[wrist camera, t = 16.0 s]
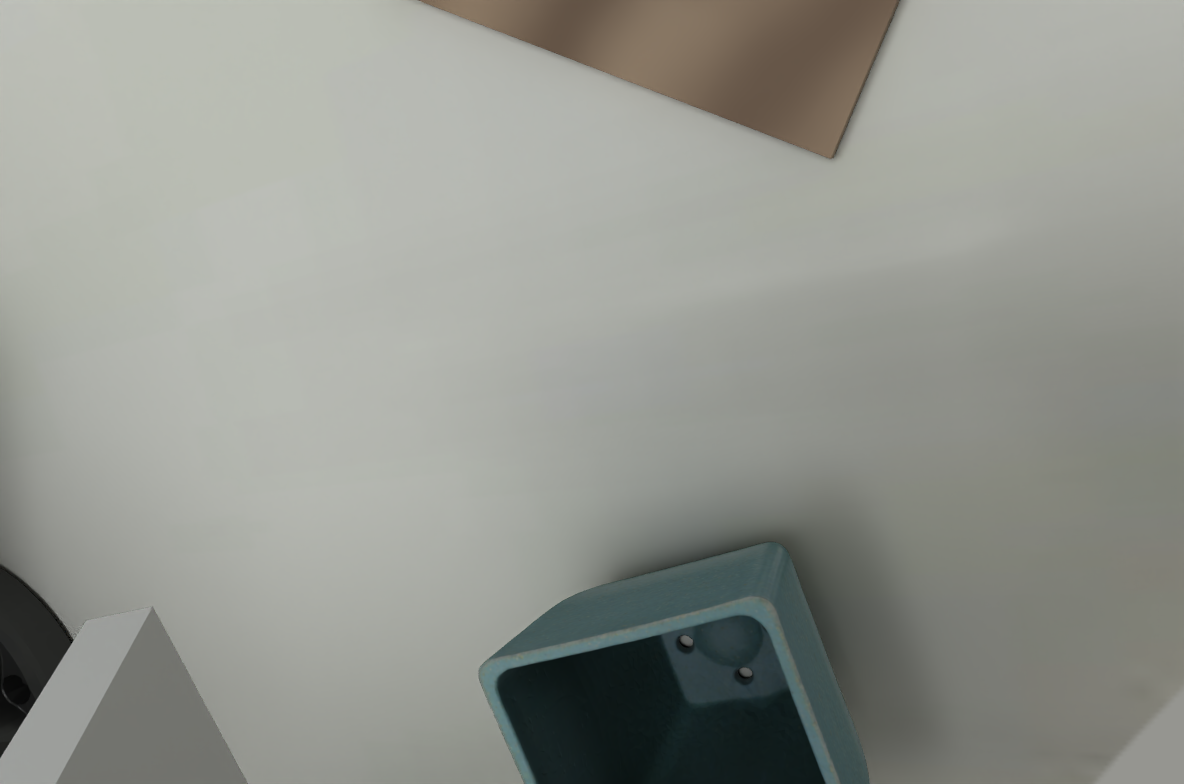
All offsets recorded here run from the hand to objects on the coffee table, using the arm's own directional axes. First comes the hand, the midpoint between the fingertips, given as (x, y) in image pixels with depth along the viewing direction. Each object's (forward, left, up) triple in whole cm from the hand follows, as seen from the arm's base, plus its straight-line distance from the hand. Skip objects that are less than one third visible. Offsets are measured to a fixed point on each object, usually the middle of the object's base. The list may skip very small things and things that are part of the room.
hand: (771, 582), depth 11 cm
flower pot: (0, -13, -23) cm, 26 cm away
